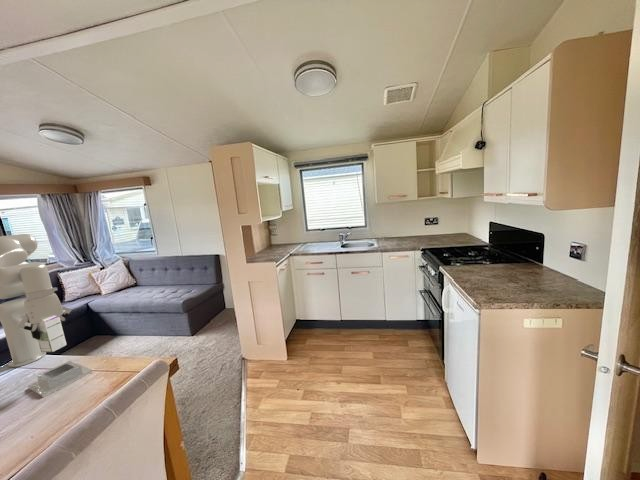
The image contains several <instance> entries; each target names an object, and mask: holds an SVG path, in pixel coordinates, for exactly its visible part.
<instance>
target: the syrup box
mask: <svg viewBox="0 0 640 480" xmlns="http://www.w3.org/2000/svg"><path fill="white" fill-rule="evenodd" d="M36 329H37V330H38V332H39V335H40V339H39V340H38V342H39V346H40V349H41V352H46V353H53V352H56V351H57V350H60V349H62V348H64V347H65V346H67V341H66V337H65V333H64V330H63V329H62V325H61V321H60V317H59V316H55V315H54V316H51V317H48V318H46V319H43V320H41V321H40V323H38V326H37V328H36Z"/></svg>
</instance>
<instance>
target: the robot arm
mask: <svg viewBox="0 0 640 480" xmlns="http://www.w3.org/2000/svg"><path fill="white" fill-rule="evenodd" d="M37 241H38V240H37V239H36V238H35V236H33V235H32V234H28V233H20V234H11V235H2V236H1V235H0V300H5V299H11V298H14V299H13V300H8V301H6V302H2V303H0V324H1V326H2V329H3V331H4V335H5V338H6V343H7V346H8V349H9V352H10V353H9V354H10V357H11V359H12V360H11V361H9V362H8V364H7V365H8V367H9V368H17V367H22V366H26V365H29V364H32V363H34V362H36V361H39V360H40V359H42V358H43V357H45V356H46V354H47V352H41V349H40V346H39V342H38V340H39V339H40V335H39V332H38V330H37V329H36V328H37V326H38V323H40V321H41V320H43V319H46V318H48V317H51V316H54V315H55V316H59V317H60V321H61V325H62V329H63V331H66V322H65V321H66V319H67V318H68V316H69V315H70V313H71V312H72V308H70V307H66V306H63V305H62V304H61V300H60V299H59V297H58V295H57V294H56V291H58V287H53V285H52V281H51V277H50V273H49V269H48V266H47V265H46V264H45V263H43V262H40V261H34V262H29V263H24V262H25V261H26V260H28V257H29V256H31V255H32V254H33V253H34V252H35V251H36V250H37V249H38V242H37ZM20 296H24V297H20ZM15 297H20V298H16V299H15ZM64 311H65V312H64ZM44 355H45V356H44ZM12 361H13V362H12ZM10 362H11V363H10Z"/></svg>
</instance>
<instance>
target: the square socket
mask: <svg viewBox="0 0 640 480" xmlns="http://www.w3.org/2000/svg"><path fill="white" fill-rule="evenodd" d="M92 373H93V369H92V368H89V367H87V366H85V365H82V364H81V363H80V364H79V363H76V362H73V361H71V360H69V361H66V362H64V363H61V364H59V365H58V366H56V367H53V368H51V369H49V370H47V371H46V370H45V371H44V372H42V373H40V374H38V375H36V378H37V381H36V382H34V383H31V384H29V385H28V386H27V388H28V389H29V390H30V391H32V392H33V393H35V394H36V395H38V396H40V397H41V398H45V397H47V396H49V395H51V394H53V393H55V392H57V391H59V390H61V389H63V388H65V387H66V386H68V385H70V384H73V383H75V382H77V381H79V379H82V378H84V377H86V376H89V374H92Z"/></svg>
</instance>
